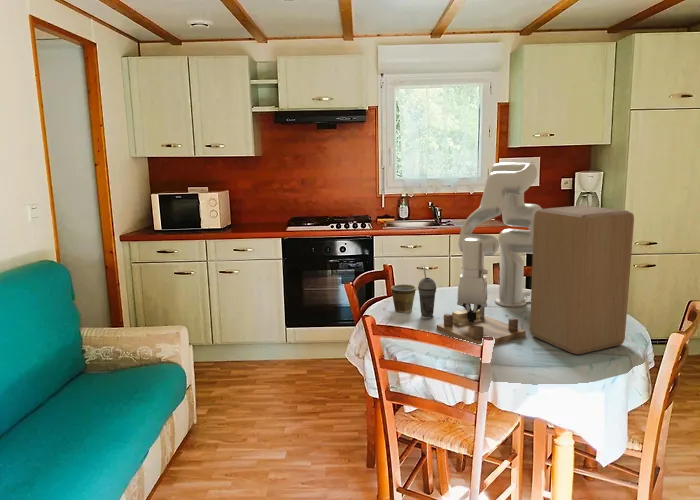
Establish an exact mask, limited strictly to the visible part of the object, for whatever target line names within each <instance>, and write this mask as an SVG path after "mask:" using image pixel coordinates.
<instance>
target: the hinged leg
mask: <svg viewBox="0 0 700 500" xmlns="http://www.w3.org/2000/svg"><path fill="white" fill-rule="evenodd" d="M471 309H472V310H473V308H471ZM451 314H452V315H453V321H454V322H456V323H462V322H468V321H469V319H467V311H466V309H463V310H455V311H452V312H451ZM479 319H480V310H478V311H476V320H479Z"/></svg>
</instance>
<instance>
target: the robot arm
mask: <svg viewBox="0 0 700 500" xmlns="http://www.w3.org/2000/svg"><path fill="white" fill-rule="evenodd" d="M490 171H491V173H489V174H488V176H487V178H486V180H485V181H486V182H485V185H484V189H483V193H482V197H481V200H480V203H479V207H478V208H477V209H474V211H473V212H471V213H470V214H469V216H467V218H466V219H465V221H464V222H463V224H462V226H461V229H460V233H459V238H458V245H457V246H458V249H459V251H460V252H461V254H462V257H461V261H462V262H461V274H460V276H459V279H458V287H457V302H456V305H458V306H461V307H463V308H464V310H466V311H467V319H469V323H470V322H472V323H474V321H475V320H476V311H478V310H479V309H480V308H487V307H488V302H487V301H488V284H487V283H488V282H487V276H486V275H488V274H489V270H488V269H485V257H490V256H493V255H495V254H496V253H497V252H498V250H499V256H500V257H499V287H498V289H499V291H498V293H499V294H498V297H496V298H495V299H494V302H495V303H496V304H497V305H499V306H501V307H502V306H503V307H509V308H517V307H519V308H520V307H523V306H525V305H526V304H527V300H526V299H525V297H531V291H524V267H525V264H524V260H523V258H522V256H521V255H520V254H529V255H533V239H534V215H535V213H536V211H538V210H541V209H543V208H542V207H541V206H540V205H539V204H536V203H526V202H525V192H526V191H528V189H529V188H530V187H531V186H532V185H533V184H534V183H535V181H536V180H537V175H538V170H537V167H536V165H535V164H534V163H532V162H498V163H494V164H493V165H492V167H491V170H490ZM501 215H502V216H501ZM498 216H501V217H502V222H503V224H504V225H506V226H509V227H515V228H505V229H503V230H502V231H500V232H499V235H498V239H497V238H496V236H494V235H491V234H490V235H489V234H481V233H473V231H474V229H476V227H477V226H479V225H480V224H481V223H484V222H486V221H488V220H491V219H493V218H494V219H495V218H497V217H498ZM516 227H517V228H516ZM519 227H520V228H527V229H520V228H519ZM518 228H519V229H518ZM472 305H473V308H472ZM472 309H473V310H472Z"/></svg>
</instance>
